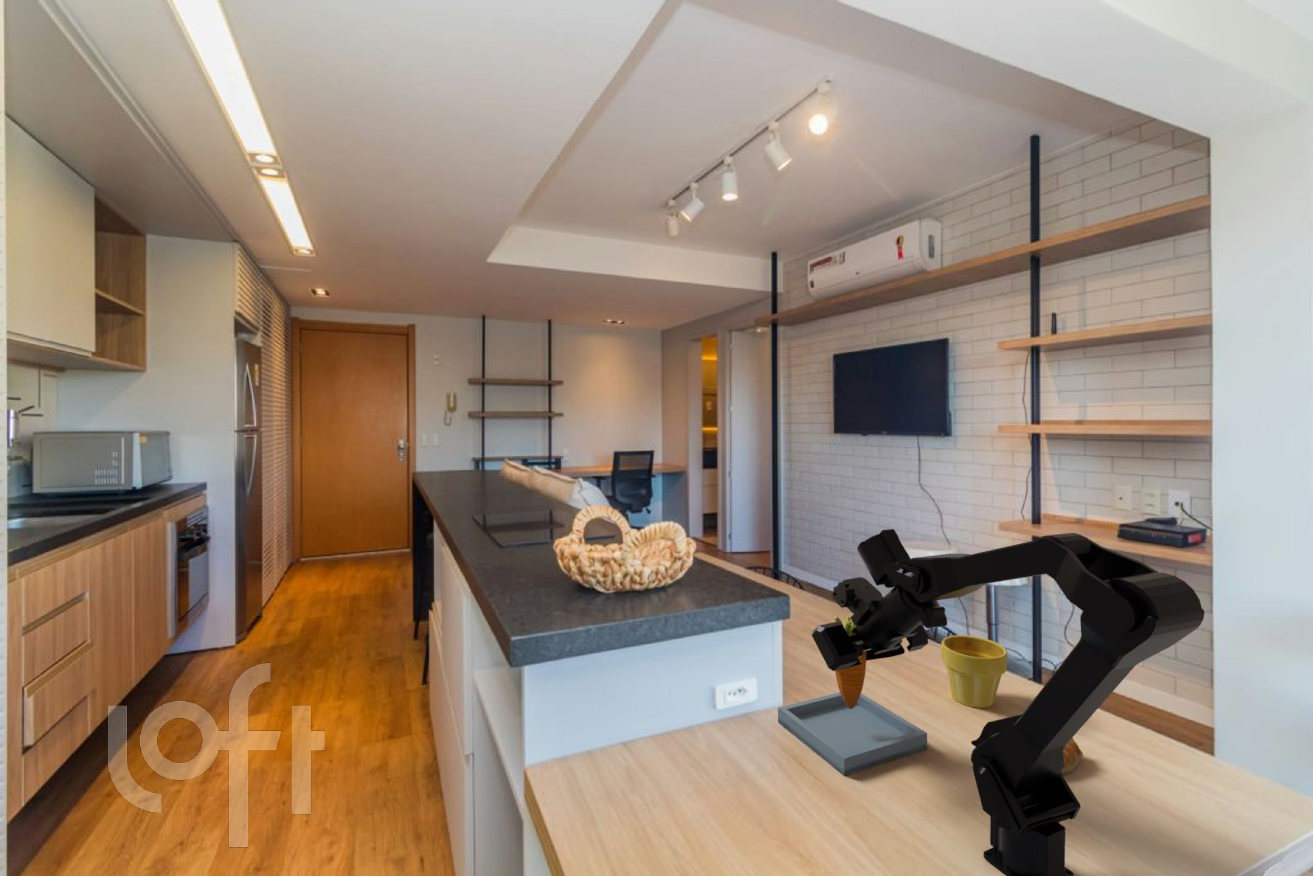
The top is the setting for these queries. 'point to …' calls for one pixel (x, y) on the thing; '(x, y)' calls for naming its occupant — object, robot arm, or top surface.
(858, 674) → the carrot
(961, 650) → the plant pot
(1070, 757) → the pastry
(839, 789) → the top surface
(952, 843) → the top surface
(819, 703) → the tray
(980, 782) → the robot arm
